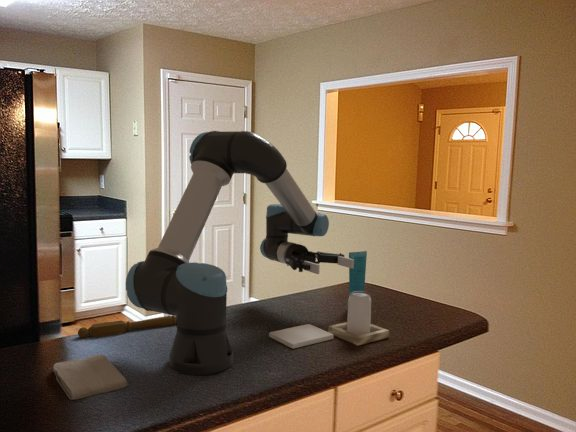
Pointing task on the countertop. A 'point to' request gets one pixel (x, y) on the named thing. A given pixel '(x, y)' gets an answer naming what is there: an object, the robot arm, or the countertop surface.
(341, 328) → the holder
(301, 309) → the countertop surface
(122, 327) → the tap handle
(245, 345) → the countertop surface
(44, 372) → the countertop surface
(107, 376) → the washcloth
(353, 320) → the can
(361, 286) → the tube
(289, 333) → the trivet
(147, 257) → the robot arm
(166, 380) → the countertop surface
